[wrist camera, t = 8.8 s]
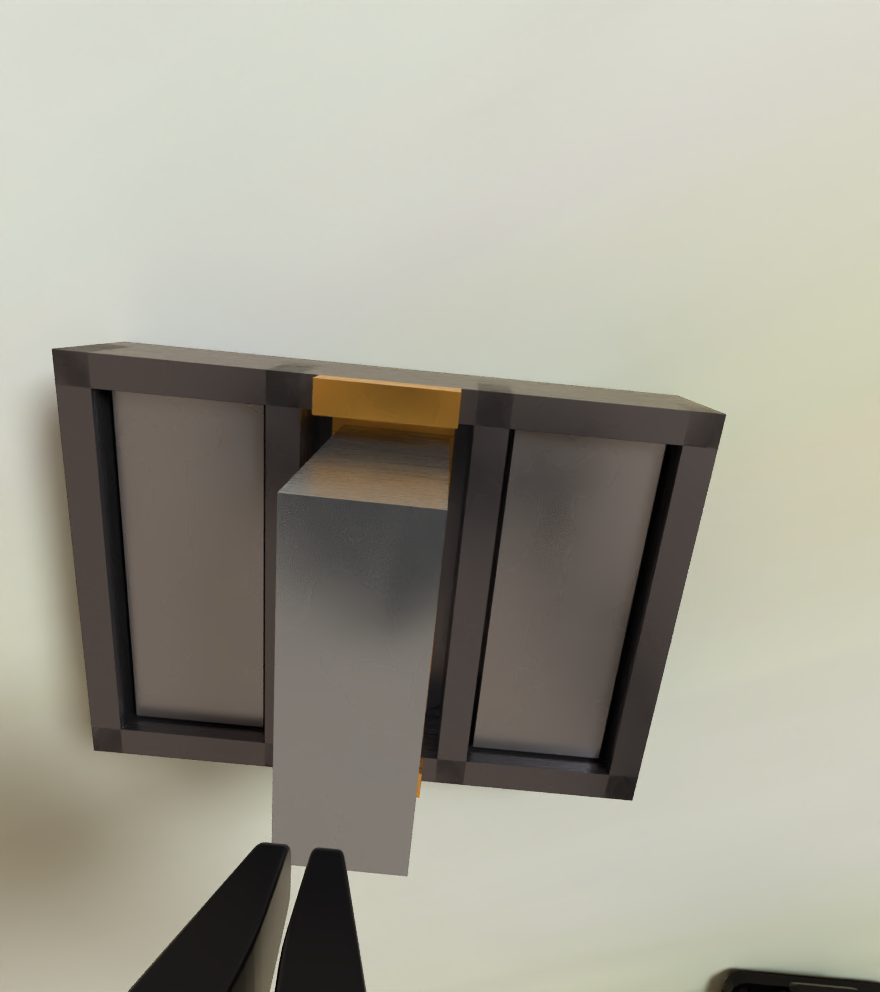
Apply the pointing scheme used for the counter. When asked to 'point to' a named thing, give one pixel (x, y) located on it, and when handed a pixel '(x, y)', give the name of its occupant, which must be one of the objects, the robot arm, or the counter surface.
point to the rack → (465, 562)
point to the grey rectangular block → (356, 642)
